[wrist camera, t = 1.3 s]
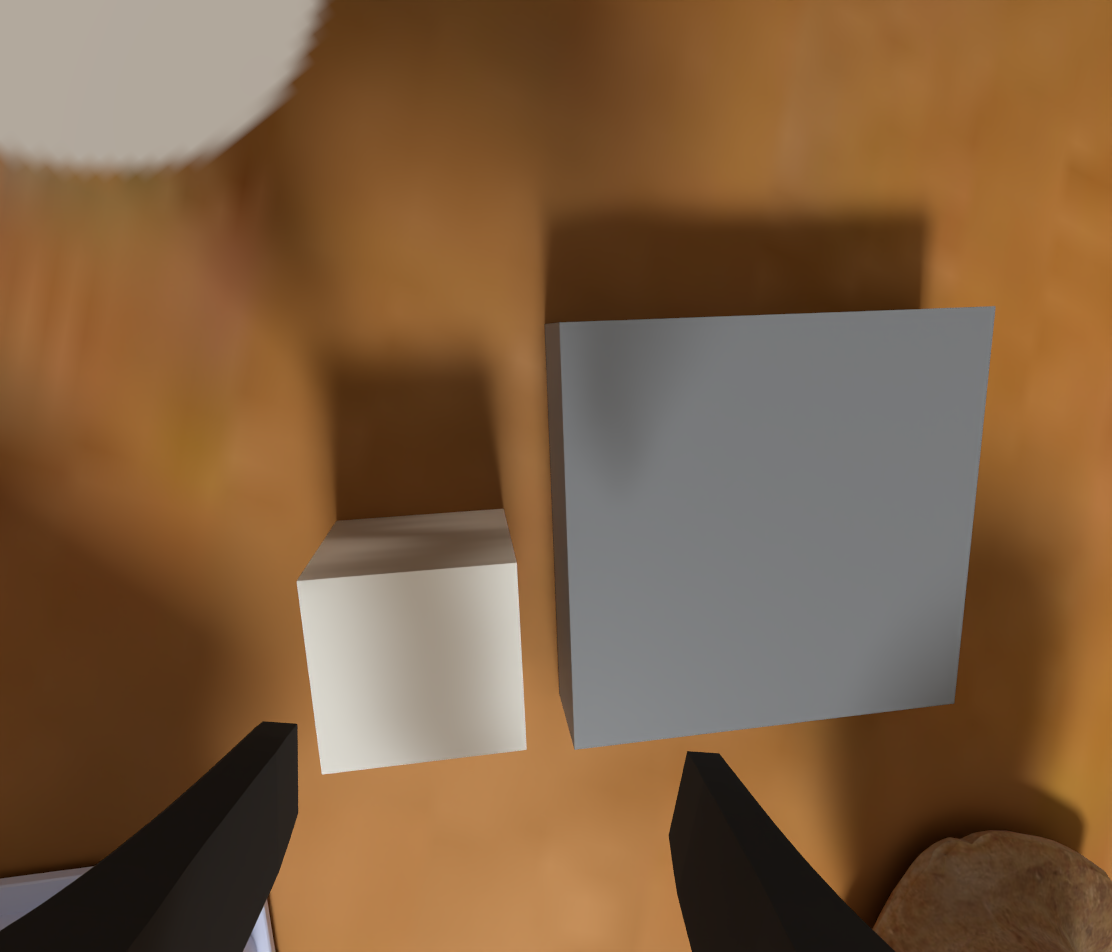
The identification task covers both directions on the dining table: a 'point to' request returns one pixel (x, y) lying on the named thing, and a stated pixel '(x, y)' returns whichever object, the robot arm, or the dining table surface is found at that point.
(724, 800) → the robot arm
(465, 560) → the cube
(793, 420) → the base
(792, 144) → the dining table surface
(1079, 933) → the stone cup
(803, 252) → the dining table surface
